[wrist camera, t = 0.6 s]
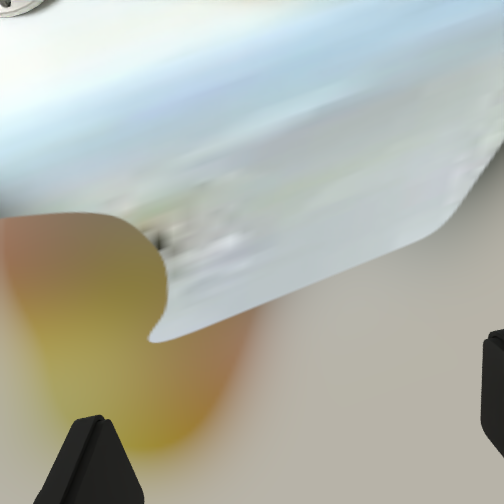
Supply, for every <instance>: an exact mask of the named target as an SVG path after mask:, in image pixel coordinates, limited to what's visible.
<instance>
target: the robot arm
mask: <svg viewBox="0 0 504 504" xmlns="http://www.w3.org/2000/svg"><path fill="white" fill-rule="evenodd" d="M9 1H11V6H10V7H9V5H8V3H9ZM43 1H44V0H0V17H12V16H16V15H19V14H23V13H26V12H28V11H30V10H32V9H33V8H35V7H37V6H39V5H40V4H41V3H42V2H43ZM481 425H482V428H483V431H484V432H485V434H486V436H487V437H488V438H489V440H490V441H491V442H492V443H493V445H494V446H495V447H496V448H497V450H498V451H499V452H500V453H501V455H502V456H503V457H504V329H502V330H497V331H493V332H490V334H489V336H488V339H486V340H484V342H483V363H482V392H481ZM33 504H144V495H143V491H142V488H141V486H140V484H139V482H138V479H137V477H136V475H135V473H134V470H133V469H132V466H131V464H130V462H129V459H128V457H127V455H126V453H125V450H124V448H123V446H122V444H121V441H120V439H119V437H118V435H117V433H116V431H115V428H114V426H113V424H112V422H111V420H109V419H107V420H105V419H104V417H103V416H102V415H95V416H91V417H86V418H81V419H77V420H76V421H74V423H73V424H72V426H71V428H70V430H69V433H68V435H67V437H66V439H65V441H64V443H63V445H62V447H61V450H60V452H59V454H58V456H57V458H56V460H55V462H54V464H53V467H52V468H51V471H50V473H49V475H48V477H47V479H46V481H45V483H44V485H43V487H42V490H41V491H40V492H39V494H38V495H37V497H36V499H35V501H34V503H33Z"/></svg>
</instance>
